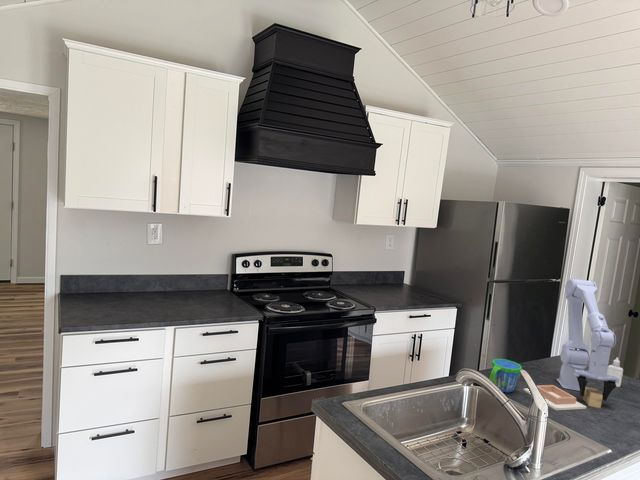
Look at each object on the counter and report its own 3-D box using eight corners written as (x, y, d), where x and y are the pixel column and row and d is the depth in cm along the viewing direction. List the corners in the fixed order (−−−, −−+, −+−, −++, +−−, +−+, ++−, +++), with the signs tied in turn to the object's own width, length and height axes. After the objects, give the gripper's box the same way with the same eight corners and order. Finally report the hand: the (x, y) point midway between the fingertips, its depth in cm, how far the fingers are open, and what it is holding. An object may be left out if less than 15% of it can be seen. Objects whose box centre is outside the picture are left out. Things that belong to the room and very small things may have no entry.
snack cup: (498, 397, 169) (503, 370, 168) (477, 384, 178) (481, 359, 177) (528, 393, 175) (532, 367, 174) (506, 381, 185) (510, 357, 184)
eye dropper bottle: (616, 388, 191) (621, 360, 190) (602, 382, 196) (607, 355, 195) (622, 387, 193) (627, 359, 192) (609, 381, 198) (613, 355, 197)
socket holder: (523, 390, 177) (524, 383, 177) (552, 389, 182) (553, 382, 181) (555, 410, 162) (557, 402, 162) (586, 408, 167) (587, 400, 166)
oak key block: (583, 399, 175) (585, 386, 175) (594, 401, 175) (596, 389, 174) (588, 406, 170) (590, 393, 169) (600, 408, 169) (602, 395, 168)
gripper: (581, 362, 168) (575, 398, 169) (625, 370, 165) (618, 406, 166) (575, 356, 175) (569, 390, 176) (617, 363, 172) (610, 398, 173)
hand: (592, 397), depth 172 cm, fingers open, 7 cm apart
